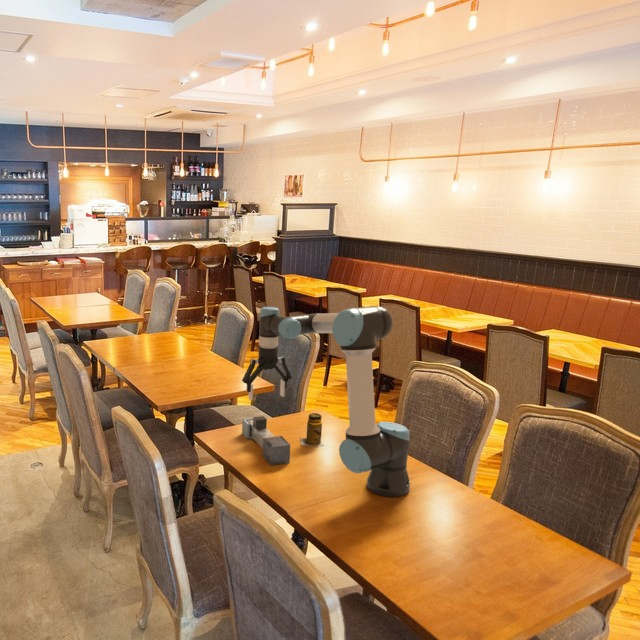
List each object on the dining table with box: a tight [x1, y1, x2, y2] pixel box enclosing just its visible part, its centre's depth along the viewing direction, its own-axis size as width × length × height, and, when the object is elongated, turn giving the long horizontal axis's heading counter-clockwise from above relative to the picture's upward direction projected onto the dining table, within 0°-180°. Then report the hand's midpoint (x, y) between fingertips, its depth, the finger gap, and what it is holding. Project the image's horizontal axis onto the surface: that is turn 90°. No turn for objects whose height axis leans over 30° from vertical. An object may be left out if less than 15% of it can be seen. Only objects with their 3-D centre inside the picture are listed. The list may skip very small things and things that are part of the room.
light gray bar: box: [248, 415, 276, 450], centre depth 238 cm, size 22×4×9 cm, turn 26°
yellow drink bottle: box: [300, 412, 324, 447], centre depth 243 cm, size 7×8×12 cm
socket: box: [241, 417, 253, 440], centre depth 247 cm, size 6×8×6 cm
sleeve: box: [262, 435, 291, 467], centre depth 225 cm, size 9×8×7 cm
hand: (266, 397), depth 238 cm, fingers open, 13 cm apart
